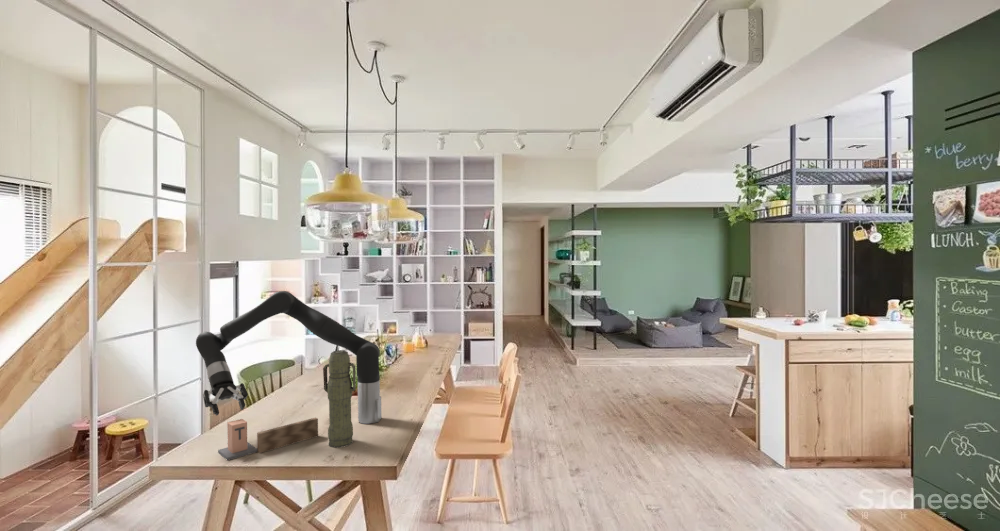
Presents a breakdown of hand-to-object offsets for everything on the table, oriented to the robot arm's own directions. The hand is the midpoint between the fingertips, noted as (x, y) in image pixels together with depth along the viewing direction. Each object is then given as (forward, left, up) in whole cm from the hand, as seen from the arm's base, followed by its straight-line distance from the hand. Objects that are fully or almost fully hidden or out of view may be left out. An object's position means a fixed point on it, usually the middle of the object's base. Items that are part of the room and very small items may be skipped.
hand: (230, 411), depth 177 cm
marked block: (-5, +4, -13) cm, 14 cm away
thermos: (-40, -3, -14) cm, 42 cm away
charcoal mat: (-5, +4, -14) cm, 15 cm away
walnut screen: (-20, -3, -14) cm, 25 cm away
